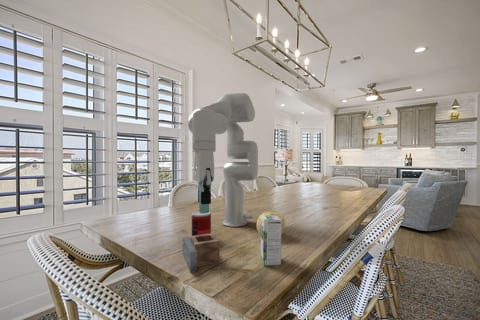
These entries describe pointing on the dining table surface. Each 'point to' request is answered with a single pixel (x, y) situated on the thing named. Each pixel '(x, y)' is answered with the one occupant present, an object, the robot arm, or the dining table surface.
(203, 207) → the dowel
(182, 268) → the dining table surface
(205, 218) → the canned food
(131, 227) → the dining table surface
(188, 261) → the wall
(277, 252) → the syrup box
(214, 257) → the brown wooden open box
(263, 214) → the sculpture
